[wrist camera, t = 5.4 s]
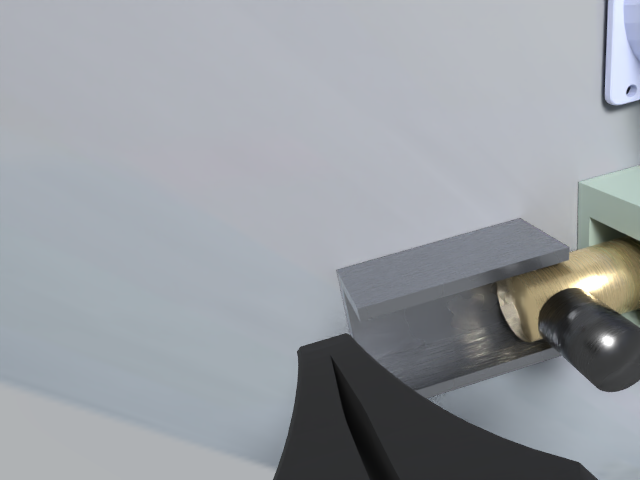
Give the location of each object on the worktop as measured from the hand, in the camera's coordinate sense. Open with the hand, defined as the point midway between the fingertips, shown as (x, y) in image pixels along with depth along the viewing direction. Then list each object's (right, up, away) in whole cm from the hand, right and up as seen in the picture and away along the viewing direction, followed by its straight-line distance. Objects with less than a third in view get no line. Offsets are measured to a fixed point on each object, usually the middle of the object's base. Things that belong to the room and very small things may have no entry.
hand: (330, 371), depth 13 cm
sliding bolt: (+12, +2, +11) cm, 17 cm away
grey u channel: (+5, +1, +11) cm, 12 cm away
